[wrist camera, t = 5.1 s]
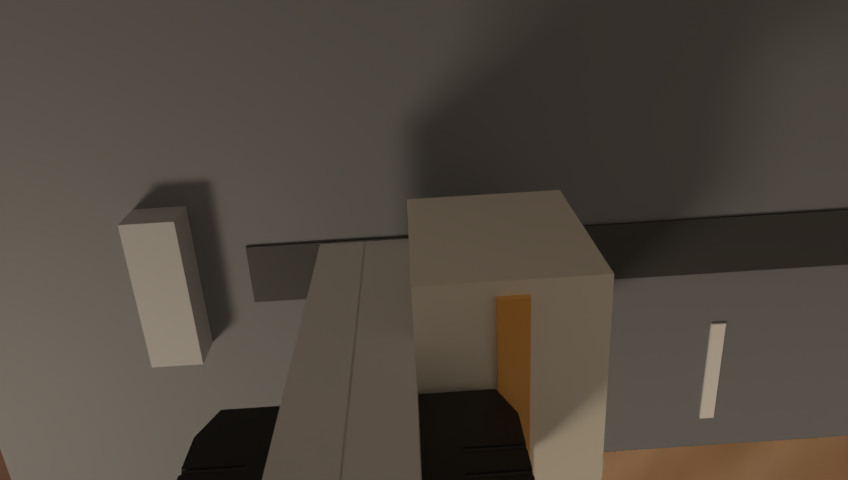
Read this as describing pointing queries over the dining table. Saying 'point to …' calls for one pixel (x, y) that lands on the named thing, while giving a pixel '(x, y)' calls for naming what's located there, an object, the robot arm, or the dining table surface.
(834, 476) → the dining table surface
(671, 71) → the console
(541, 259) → the fader knob
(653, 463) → the dining table surface
